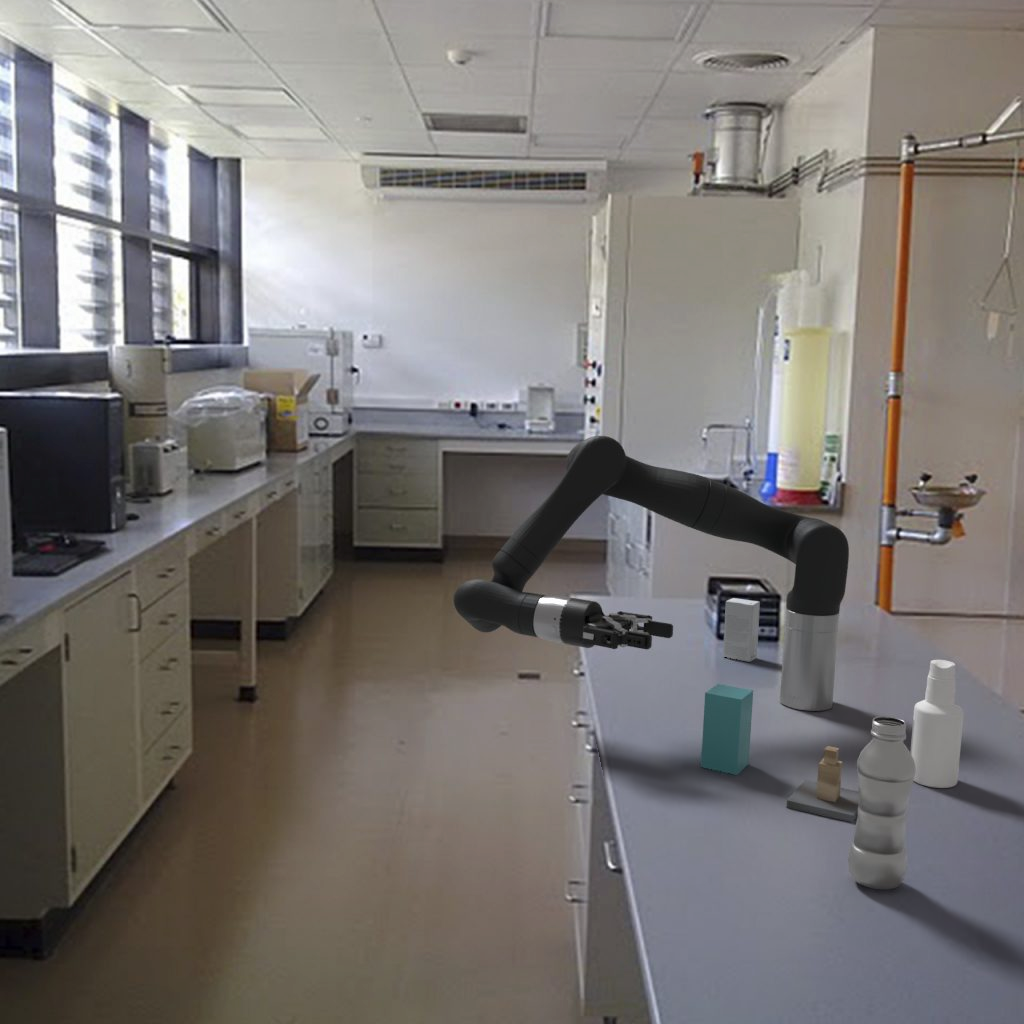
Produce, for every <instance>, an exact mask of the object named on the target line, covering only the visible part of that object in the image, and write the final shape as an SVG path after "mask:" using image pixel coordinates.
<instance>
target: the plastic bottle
mask: <svg viewBox="0 0 1024 1024" xmlns="http://www.w3.org/2000/svg"><path fill="white" fill-rule="evenodd" d="M871 724H872V728H871V729H870V735H871V737H872V739H871V740H870V741H869V742H868V743H867V744H866V745H865V746H864V747H863V749H862V750H861V751H860V754H859V755H858V758H857V760H856V769H857V772H856V775H857V787H858V788H857V789H858V790H857V791H858V805H859V806H858V815H857V817H856V824H855V829H854V833H853V840H852V842H851V845H850V848H849V851H848V857H847V862H848V863H847V864H848V872H849V874H850V876H851V878H853V880H854V881H855V882H856V883H858V884H859V885H862V886H864V887H866V888H870V889H876V890H891V889H895V888H897V887H899V886H900V884H901V883H903V881H904V880H905V876H906V873H907V871H908V860H907V859H908V858H907V857H908V856H907V851H906V820H907V812H908V806H909V800H910V796H911V792H912V788H913V784H914V781H913V780H914V777H915V771H916V767H915V762H914V759H913V757H912V755H911V754H910V752H911V751H910V750H909V749H908V747H907V746H906V744H905V743H904V741H906V739H907V733H906V730H907V723H906V721H905V720H903V719H901V718H898V717H894V716H893V717H892V716H875V717H873V718H872V723H871Z"/></svg>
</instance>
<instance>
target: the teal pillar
mask: <svg viewBox="0 0 1024 1024" xmlns="http://www.w3.org/2000/svg"><path fill="white" fill-rule="evenodd" d="M753 701H754V690H753V689H749V688H743V687H738V686H732V685H726V684H723V683H722V684H721V683H717V684H715V685H714V686H713V687H711V688H710V689H709V690H707V691H705V693H704V704H703V705H704V706H703V707H704V710H703V724H702V742H701V743H702V744H701V746H702V747H701V760H700V768H702V767H703V769H707V768H708V770H711V769H712V770H713V771H716V770H717V771H716V772H720V771H721V773H725V774H729V773H730V775H734V776H737V775H739V774H740V772H742V771H743V770H744V769H745V768H747V766H748V765H749V764H750V750H751V747H750V746H751V733H752V731H751V730H752V717H753ZM712 770H711V771H712Z"/></svg>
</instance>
